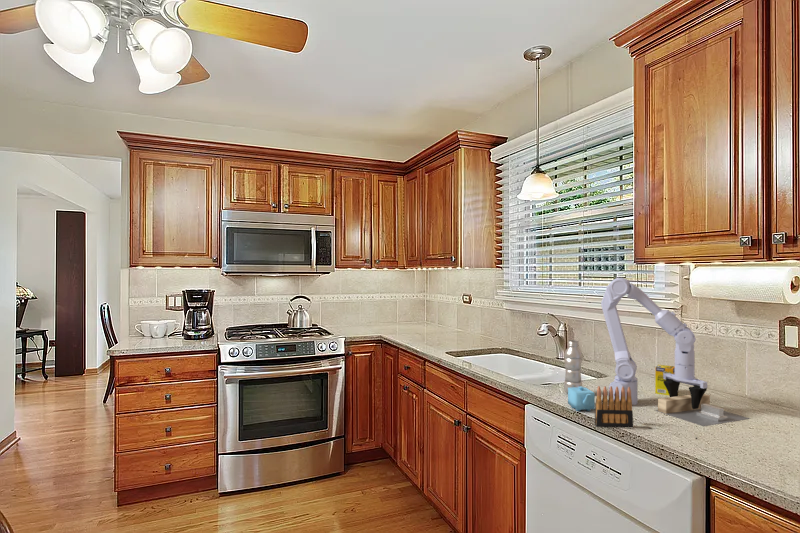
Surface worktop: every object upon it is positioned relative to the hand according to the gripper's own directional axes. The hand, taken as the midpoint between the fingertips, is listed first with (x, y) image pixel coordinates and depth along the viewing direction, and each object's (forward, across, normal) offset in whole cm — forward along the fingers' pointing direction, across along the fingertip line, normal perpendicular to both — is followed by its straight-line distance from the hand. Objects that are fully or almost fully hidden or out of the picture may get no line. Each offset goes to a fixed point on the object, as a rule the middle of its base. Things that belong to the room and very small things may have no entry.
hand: (684, 405), depth 160 cm
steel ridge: (+1, -9, 0) cm, 9 cm away
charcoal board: (+2, -5, 0) cm, 6 cm away
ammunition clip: (+2, -3, +33) cm, 33 cm away
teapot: (+2, +14, +30) cm, 33 cm away
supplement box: (+2, +18, -12) cm, 21 cm away
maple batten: (+1, 0, 0) cm, 1 cm away
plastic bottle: (+2, +31, +19) cm, 37 cm away
